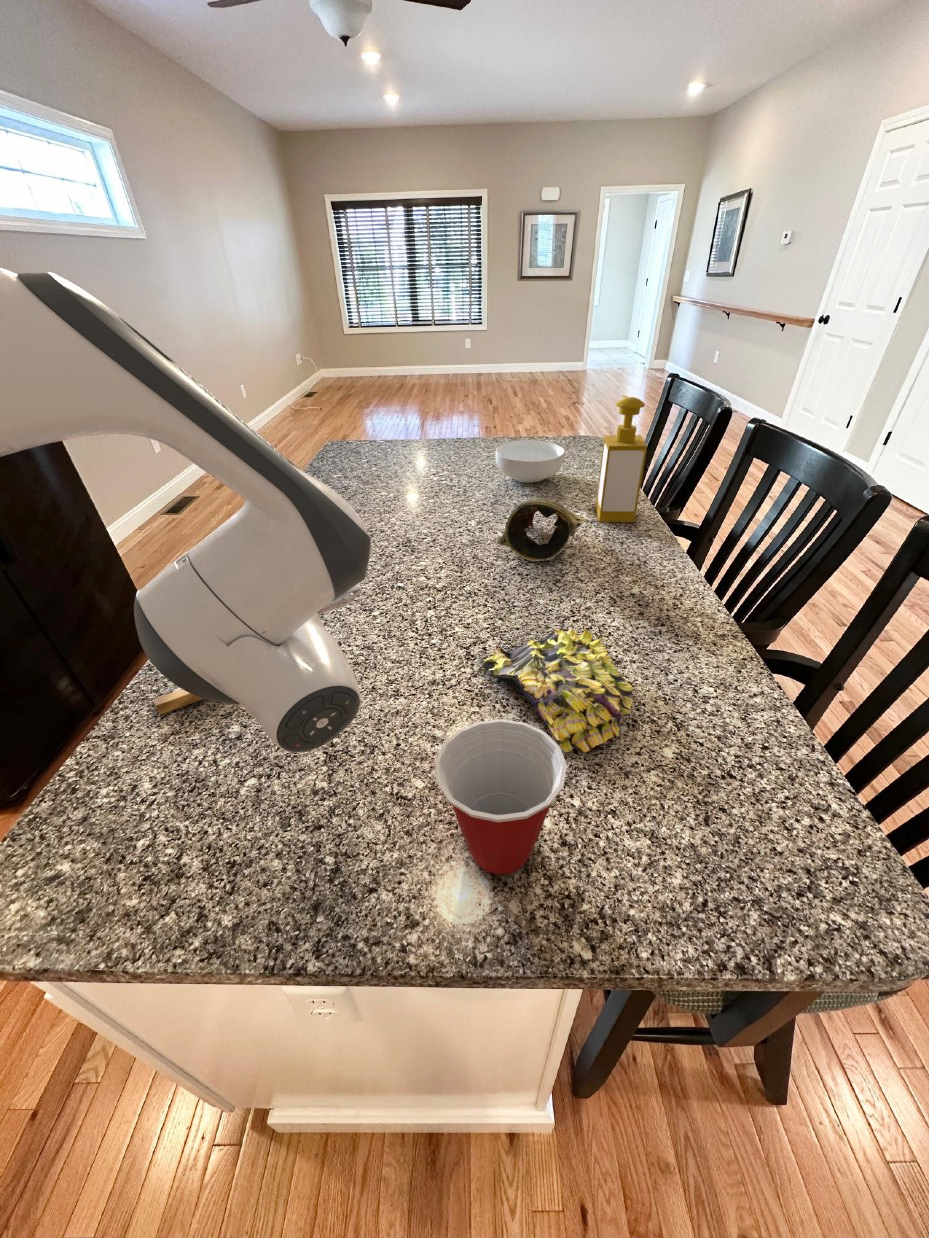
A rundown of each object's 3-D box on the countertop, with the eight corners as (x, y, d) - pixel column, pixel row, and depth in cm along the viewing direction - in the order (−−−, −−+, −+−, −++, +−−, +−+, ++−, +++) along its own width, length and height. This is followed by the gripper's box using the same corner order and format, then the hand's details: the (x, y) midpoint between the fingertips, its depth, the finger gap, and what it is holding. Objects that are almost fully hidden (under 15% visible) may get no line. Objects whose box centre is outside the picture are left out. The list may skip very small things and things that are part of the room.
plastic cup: (528, 783, 54) (533, 700, 47) (577, 878, 46) (592, 795, 39) (429, 812, 52) (419, 730, 45) (462, 919, 43) (456, 837, 36)
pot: (585, 482, 101) (580, 485, 84) (598, 538, 103) (595, 551, 87) (503, 505, 107) (482, 512, 90) (516, 558, 109) (499, 574, 92)
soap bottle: (625, 499, 117) (642, 387, 103) (634, 522, 106) (654, 401, 93) (593, 498, 117) (605, 387, 104) (599, 521, 107) (614, 402, 94)
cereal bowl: (519, 494, 121) (520, 465, 117) (483, 474, 133) (482, 447, 129) (576, 480, 127) (579, 451, 123) (537, 462, 139) (538, 436, 135)
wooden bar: (160, 715, 64) (155, 705, 64) (158, 707, 66) (154, 698, 65) (242, 685, 69) (238, 676, 68) (239, 678, 70) (236, 669, 69)
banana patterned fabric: (660, 740, 60) (662, 710, 55) (528, 789, 60) (518, 763, 55) (589, 623, 74) (585, 592, 69) (482, 663, 74) (471, 634, 69)
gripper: (363, 569, 54) (321, 524, 64) (148, 634, 46) (138, 571, 55) (371, 618, 58) (330, 569, 67) (174, 687, 49) (160, 619, 59)
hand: (242, 570), depth 61 cm, fingers closed on supplement bottle, 5 cm apart
